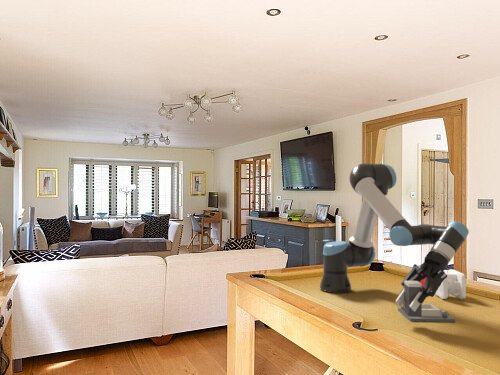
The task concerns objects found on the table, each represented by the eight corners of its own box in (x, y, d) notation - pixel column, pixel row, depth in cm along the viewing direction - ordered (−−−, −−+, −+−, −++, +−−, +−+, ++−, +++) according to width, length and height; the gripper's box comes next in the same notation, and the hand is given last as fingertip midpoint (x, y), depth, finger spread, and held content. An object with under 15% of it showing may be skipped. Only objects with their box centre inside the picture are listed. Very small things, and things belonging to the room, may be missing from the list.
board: (410, 321, 141) (410, 311, 141) (397, 310, 155) (397, 301, 155) (455, 321, 140) (454, 312, 140) (437, 310, 154) (437, 301, 154)
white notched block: (467, 301, 167) (467, 275, 168) (442, 301, 168) (442, 274, 169) (452, 293, 182) (452, 268, 183) (429, 292, 183) (429, 268, 184)
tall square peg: (408, 316, 134) (408, 283, 134) (404, 312, 138) (404, 280, 138) (421, 316, 134) (421, 283, 134) (416, 312, 138) (416, 280, 138)
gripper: (467, 268, 133) (432, 321, 127) (424, 259, 151) (391, 305, 144) (456, 254, 131) (420, 307, 125) (413, 246, 149) (380, 292, 142)
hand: (404, 306), depth 135 cm, fingers closed on tall square peg, 6 cm apart
